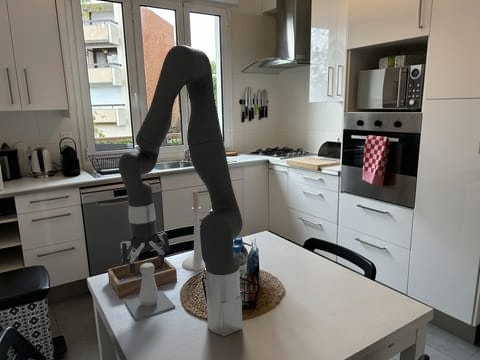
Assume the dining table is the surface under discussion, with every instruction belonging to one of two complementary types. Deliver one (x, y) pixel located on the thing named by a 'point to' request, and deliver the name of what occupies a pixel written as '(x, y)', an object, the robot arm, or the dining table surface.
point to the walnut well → (134, 285)
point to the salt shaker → (148, 286)
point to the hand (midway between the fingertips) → (147, 269)
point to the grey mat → (144, 312)
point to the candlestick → (195, 240)
